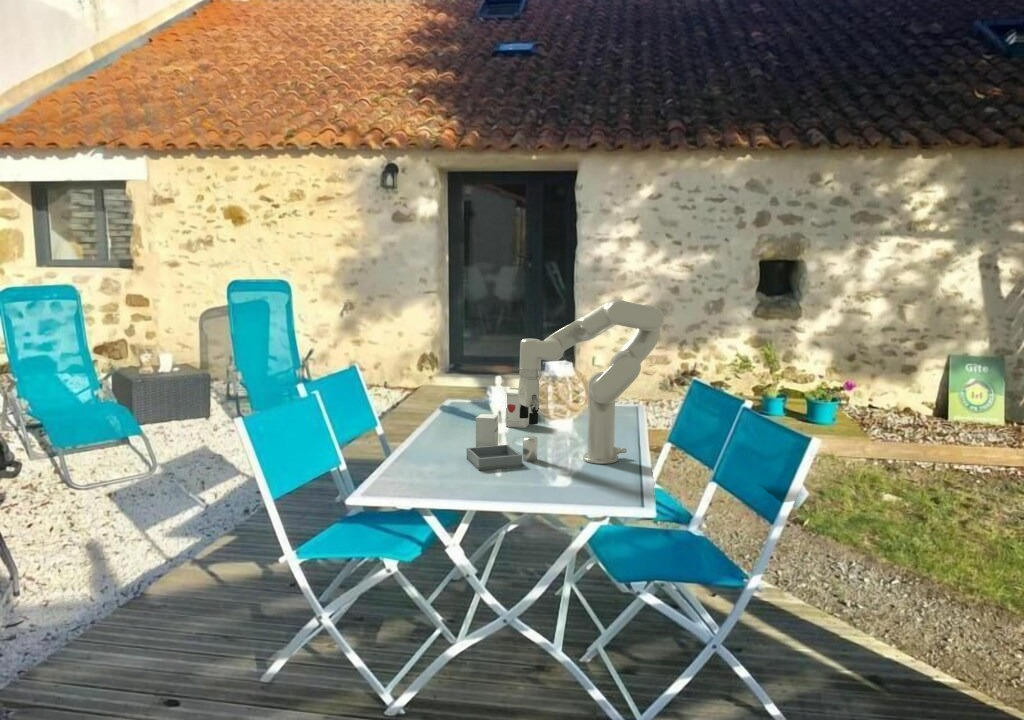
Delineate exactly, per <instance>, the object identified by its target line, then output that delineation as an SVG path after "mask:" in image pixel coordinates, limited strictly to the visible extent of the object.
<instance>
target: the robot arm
mask: <svg viewBox="0 0 1024 720" xmlns="http://www.w3.org/2000/svg"><path fill="white" fill-rule="evenodd" d="M664 322H665V316H664V312H663V311H662V310H661V309H660V308H658V307H656V306H654V305H652V304H640V303H635V302H630V301H626V300H623V299H621V298H612V299H609V300H607V301H606V302H604V303H603V304H601V305H600V306H598V307H596V308H595V309H592V310H591V311H589V312H588V313H586V314H585V315H584V316H582V317H580V318H578V319H576V320H574V321H573V322H571V323H569V324H567V325H565V326H564V327H562V328H560V329H559V330H557V331H555V332H554V333H552V334H550V335H549V336H547V337H546V338H545V339H544V340H541V339H538V338H531V337H530V338H522V340H520V345H519V347H520V348H519V371H518V372H519V376H518V377H519V382H518V389H517V390H518V402H519V403H520V418H528V410H529V409H530V413H529V425H538V423H539V413H540V411H539V410H540V379H541V376H542V375H541V374H542V373H541V371H542V361H548V362H556V361H559V360H560V359H561V358H562V357H563V355H564V353H565V351H567V350H568V349H570V348H572V347H573V346H575V345H577V344H579V343H583V342H587V341H590V340H593V339H595V338H597V337H598V336H600V335H602V334H603V333H604V332H606V331H608V330H609V329H612V328H613V327H614V326H621V327H625V328H632V329H635V332H634V333H633V335H632V336H631V337H630V338H629V340H628V341H627V342H626V343H624V344H623V346H622V347H621V348H620V349H619V350H618V351H617V352H616V353H615V354H613V356H612V357H611V359H610V362H609V367H608V368H606V370H605V371H598V372H597V371H596V372H595V373H594V374H592V375H591V376H590V377H589V380H588V382H587V447H586V448H587V453H586V452H585V454H583V456H582V460H583V461H584V462H587V463H590V464H596V465H597V464H598V465H601V464H602V465H604V464H606V465H607V464H615V463H616V462H618V461H619V456H618V455H619V454H627V452H628V450H627V448H626V447H620V446H619V447H618V446H617V447H616V446H615V429H616V428H615V427H616V425H615V423H616V400H617V399H618V398H619V397H620V396H622V394H623V393H624V392H625V391H626V390H627V389H628V388H629V387H630V386H631V385H632V384H633V383H634V382H635V380H637V378H638V376H639V375H640V373H641V370H642V365H641V364H642V363H643V362H644V361H645V359H646V358H647V357H648V356H649V355H650V354H651V352H652V351H653V350H654V349H655V347H656V346H657V343H658V341H659V339H660V336H661V335H660V334H661V328H662V326H663V325H664ZM528 406H529V407H528Z"/></svg>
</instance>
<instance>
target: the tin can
mask: <svg viewBox="0 0 1024 720" xmlns="http://www.w3.org/2000/svg"><path fill="white" fill-rule="evenodd" d="M538 440H539V439H538V437H537V436H529V435H528V436H524V437H522V462H523V461H524V462H526V461H527V462H526V463H531V462H532V463H533V462H537V461H538Z"/></svg>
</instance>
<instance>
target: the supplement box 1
mask: <svg viewBox="0 0 1024 720" xmlns="http://www.w3.org/2000/svg"><path fill="white" fill-rule="evenodd" d="M498 445H499V414H490V413H488V414H487V413H486V414H485V413H484V414H483V413H480V414H479V415H478V416H476V417H475V447H486V446H498Z"/></svg>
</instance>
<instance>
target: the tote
mask: <svg viewBox="0 0 1024 720" xmlns="http://www.w3.org/2000/svg"><path fill="white" fill-rule="evenodd" d="M466 460H467V461H468V462H469V463H470V464H471V465H472V466H473V467H474V468H476V470H478V471H490V470H500V469H508V468H509V469H511V468H520V467H523V454H521V453H520V452H518V451H517V450H516V449H514V448H513V447H512V446H510V445H509V444H501V445H499V444H498V446H486V447H476V446H475V447H467V448H466Z"/></svg>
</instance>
